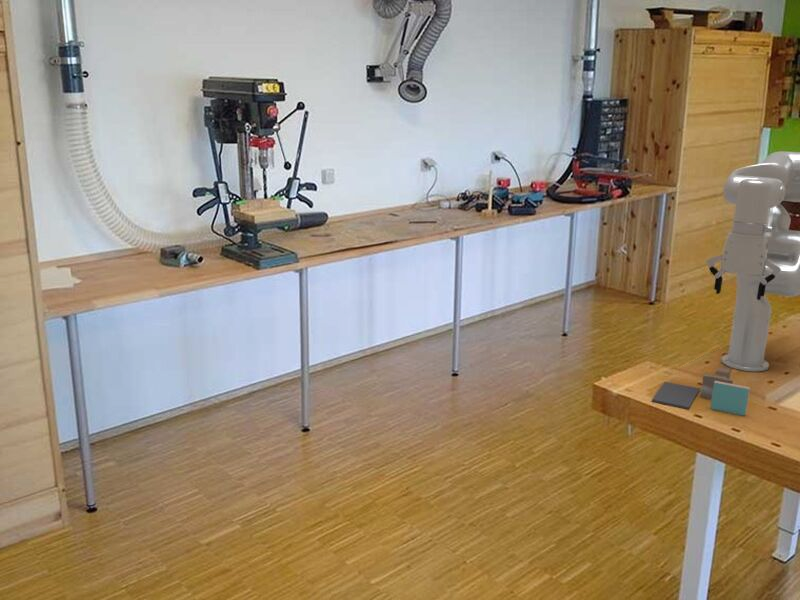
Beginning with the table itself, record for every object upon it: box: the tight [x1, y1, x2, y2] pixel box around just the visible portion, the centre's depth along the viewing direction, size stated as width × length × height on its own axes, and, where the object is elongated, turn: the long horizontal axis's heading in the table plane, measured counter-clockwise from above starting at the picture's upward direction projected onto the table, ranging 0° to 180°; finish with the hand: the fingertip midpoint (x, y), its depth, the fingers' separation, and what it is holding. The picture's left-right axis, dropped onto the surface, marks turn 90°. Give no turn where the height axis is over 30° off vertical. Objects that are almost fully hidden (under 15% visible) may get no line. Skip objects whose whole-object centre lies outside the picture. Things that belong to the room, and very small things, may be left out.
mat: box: [651, 381, 701, 410], centre depth 202 cm, size 15×9×1 cm, turn 150°
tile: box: [709, 381, 751, 417], centre depth 193 cm, size 2×8×7 cm, turn 60°
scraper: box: [699, 365, 734, 400], centre depth 205 cm, size 13×7×6 cm, turn 150°
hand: (738, 295), depth 199 cm, fingers open, 9 cm apart
